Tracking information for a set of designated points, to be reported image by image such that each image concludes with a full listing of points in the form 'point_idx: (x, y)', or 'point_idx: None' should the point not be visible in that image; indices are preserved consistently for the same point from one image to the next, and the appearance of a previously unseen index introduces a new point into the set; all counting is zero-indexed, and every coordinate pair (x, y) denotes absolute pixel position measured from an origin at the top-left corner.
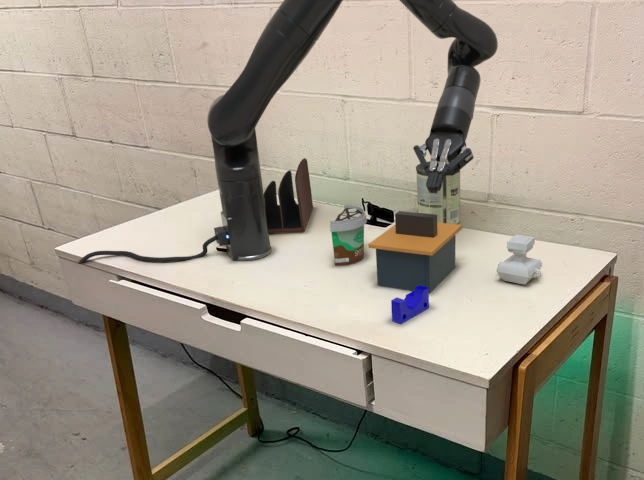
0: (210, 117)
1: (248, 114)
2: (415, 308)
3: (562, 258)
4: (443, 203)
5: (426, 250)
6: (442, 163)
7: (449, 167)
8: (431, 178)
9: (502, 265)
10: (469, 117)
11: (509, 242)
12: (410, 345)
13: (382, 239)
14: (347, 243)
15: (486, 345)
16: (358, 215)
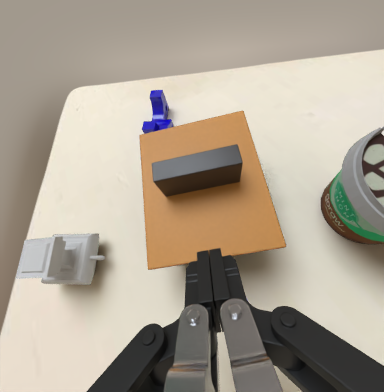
0: None
1: None
2: (152, 120)
3: (41, 384)
4: None
5: (148, 134)
6: (188, 350)
7: (147, 334)
8: (218, 273)
9: (85, 235)
10: None
11: (52, 237)
12: (134, 89)
13: (237, 134)
14: (339, 173)
15: (80, 119)
16: None
